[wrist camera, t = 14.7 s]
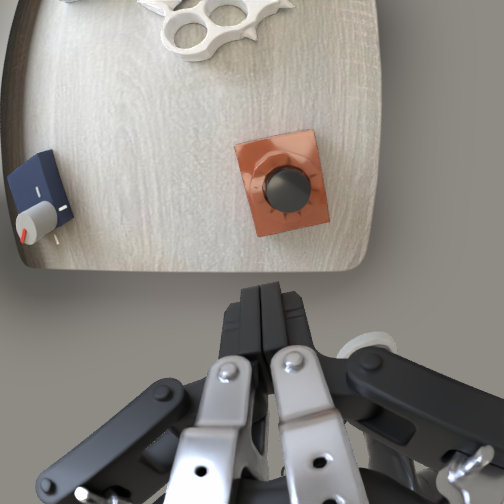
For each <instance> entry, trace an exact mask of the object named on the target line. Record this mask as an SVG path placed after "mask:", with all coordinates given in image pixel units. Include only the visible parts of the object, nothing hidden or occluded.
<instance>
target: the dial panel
mask: <svg viewBox="0 0 504 504" xmlns="http://www.w3.org/2000/svg"><path fill="white" fill-rule="evenodd" d="M7 179H8V183H9V186H10V189H11V192H12V196H13V199H14V202H15V205H16V208H17V210H18V213H19V214H20V213H22V212H24V211H26V210H27V209H29V208H31V207H33V206H35V205H37V204H38V203H40V202H42V201H47V202H49V203H51V204H52V205H53V207H54V208H55V210H56V213H57V225H56V227H55V228H57V227H60V226H62V225H63V224H65V223H66V222H68V221H69V220H71V219H72V218H74V216H73V213H72V211H71V208H70V205H69V203H68V200H67V197H66V194H65V191H64V188H63V185H62V182H61V179H60V176H59V173H58V170H57V166H56V163H55V159H54V156H53V152H52V150H47V151H44V152H40V153H37V154H36V155H34V156H33V157H32V158H30V159H29V160H28V161H26V162H25V163H24V164H22V165H21V166H20V167H19V168H17V169H16V170H15V171H13V172H12V173H11V174H10V175H9V176H7ZM55 228H54V229H55ZM53 236H54V238H55V240H56V242H57V245H58V244H60V243H59V241H58V239H57V236H56V234H55V235H53Z"/></svg>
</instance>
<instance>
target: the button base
mask: <svg viewBox="0 0 504 504" xmlns="http://www.w3.org/2000/svg"><path fill="white" fill-rule="evenodd" d="M234 148H235V152H236V156H237V159H238V163H239V167H240V171H241V175H242V179H243V182H244V186H245V190H246V194H247V198H248V202H249V205H250V209H251V213H252V217H253V221H254V225H255V229H256V233H257V236H258V237H262V236H266V235H271V234H276V233H280V232H285V231H289V230H294V229H299V228H303V227H308V226H312V225H317V224H322V223H327V222H330V218H329V211H328V205H327V198H326V192H325V186H324V180H323V174H322V169H321V163H320V158H319V153H318V148H317V143H316V138H315V133H314V130H313V129H307V130H301V131H296V132H290V133H285V134H280V135H275V136H271V137H266V138H261V139H257V140H253V141H248V142H244V143H240V144H236V145H235V146H234ZM285 167H288V168H293V169H296V170H298V171H299V172H300V173H302V174H303V175H304V177H305V178H306V179H307V180H308V182H309V184H310V189H311V194H310V198H309V200H308V202H307V204H306V205H305V206H304V207H303V208H302V209H300V210H299V211H296V212H293V213H284V212H281V211H278V210H276V209H275V208H274V207H273V206H272V205H271V204H270V202H269V200H268V198H267V193H266V183H267V180H268V178H269V176H270V175H271V174H272V173H273V172H274V171H276V170H278V169H280V168H285Z"/></svg>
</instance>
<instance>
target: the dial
mask: <svg viewBox="0 0 504 504" xmlns="http://www.w3.org/2000/svg"><path fill="white" fill-rule="evenodd" d="M56 225H57V213H56V210H55V208H54V207H53V205H52V204H51V203H49V202H47V201H42V202H40V203H38V204H37V205H35V206H33V207H31V208H29V209H27V210H26V211H24V212H22V213H20V214H19V215H18V217H17V219H16V228H17V232H18V235H19V237H20V238H21V240H20V241H21V242H22V243H26V244H28V245H32V244H34V243H35V242H36V241H38V240H39V239H40V238H42V237H43V236H45V235H46V234H47V233H49V232H50V231H52V230H53V229H54V228H55V227H56Z"/></svg>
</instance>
